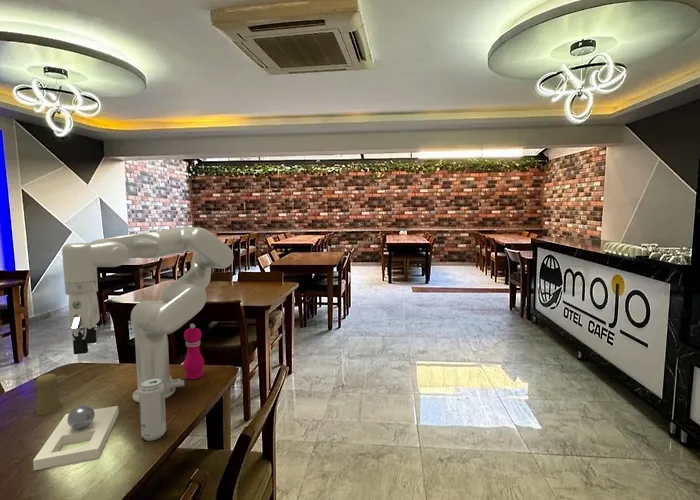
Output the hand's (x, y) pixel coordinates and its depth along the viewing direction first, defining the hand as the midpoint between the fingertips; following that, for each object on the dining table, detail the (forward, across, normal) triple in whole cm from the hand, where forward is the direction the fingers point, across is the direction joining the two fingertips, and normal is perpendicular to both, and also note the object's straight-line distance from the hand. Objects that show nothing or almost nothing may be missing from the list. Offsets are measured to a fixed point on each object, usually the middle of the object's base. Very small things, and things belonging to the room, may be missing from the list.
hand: (85, 347), depth 107 cm
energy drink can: (+22, -14, -18) cm, 32 cm away
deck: (+22, -9, 0) cm, 24 cm away
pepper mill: (+22, +22, -27) cm, 41 cm away
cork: (+22, +12, +14) cm, 29 cm away
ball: (+16, -8, 0) cm, 18 cm away
